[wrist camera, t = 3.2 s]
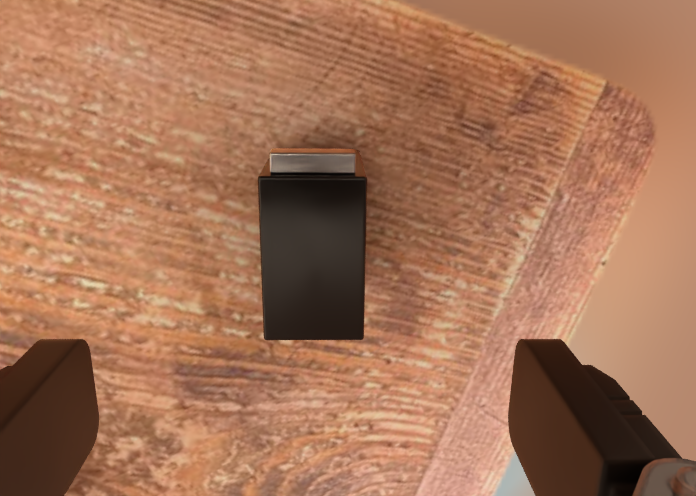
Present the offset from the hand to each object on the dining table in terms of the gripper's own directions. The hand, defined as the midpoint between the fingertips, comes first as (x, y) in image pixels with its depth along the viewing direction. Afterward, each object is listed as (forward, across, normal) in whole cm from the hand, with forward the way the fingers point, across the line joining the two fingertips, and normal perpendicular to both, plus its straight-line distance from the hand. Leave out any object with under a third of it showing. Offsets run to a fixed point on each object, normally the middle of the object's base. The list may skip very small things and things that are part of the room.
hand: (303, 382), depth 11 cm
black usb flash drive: (+11, 0, 0) cm, 11 cm away
